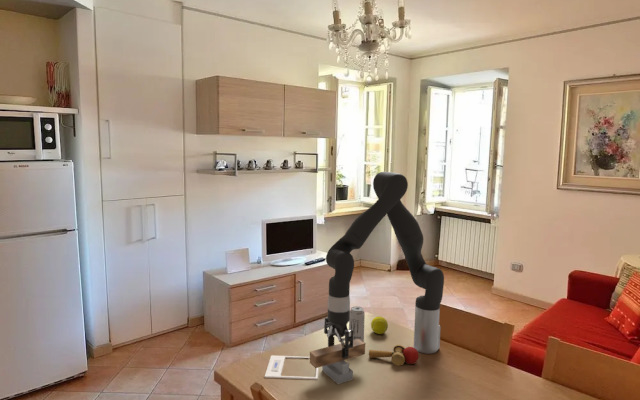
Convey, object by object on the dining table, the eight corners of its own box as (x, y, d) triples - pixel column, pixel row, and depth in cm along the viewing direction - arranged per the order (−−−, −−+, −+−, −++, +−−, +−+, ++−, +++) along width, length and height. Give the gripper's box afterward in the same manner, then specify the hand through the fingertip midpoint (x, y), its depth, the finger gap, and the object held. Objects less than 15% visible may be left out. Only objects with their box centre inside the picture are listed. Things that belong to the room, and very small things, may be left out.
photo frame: (271, 354, 159) (319, 356, 159) (271, 357, 159) (319, 359, 159) (264, 375, 145) (317, 377, 144) (264, 378, 145) (317, 380, 144)
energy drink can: (346, 346, 168) (347, 310, 166) (351, 340, 174) (352, 305, 172) (361, 349, 166) (362, 312, 164) (365, 343, 171) (366, 307, 170)
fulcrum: (336, 366, 153) (336, 350, 152) (352, 379, 145) (353, 362, 144) (322, 370, 150) (322, 354, 149) (338, 384, 141) (338, 367, 141)
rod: (358, 349, 153) (358, 338, 153) (364, 354, 150) (365, 343, 149) (309, 362, 143) (309, 351, 143) (315, 368, 140) (315, 356, 139)
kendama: (368, 367, 156) (419, 367, 151) (367, 349, 156) (417, 349, 152) (371, 360, 163) (419, 360, 159) (370, 343, 164) (418, 343, 159)
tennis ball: (370, 329, 185) (371, 313, 184) (387, 330, 184) (387, 314, 183) (371, 336, 178) (371, 320, 177) (387, 337, 177) (388, 321, 176)
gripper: (360, 312, 140) (359, 358, 142) (336, 298, 152) (335, 341, 154) (341, 316, 136) (340, 364, 138) (318, 302, 148) (317, 346, 150)
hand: (337, 352), depth 146 cm, fingers open, 8 cm apart
